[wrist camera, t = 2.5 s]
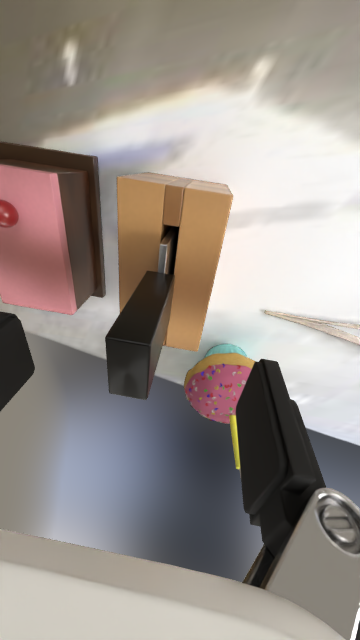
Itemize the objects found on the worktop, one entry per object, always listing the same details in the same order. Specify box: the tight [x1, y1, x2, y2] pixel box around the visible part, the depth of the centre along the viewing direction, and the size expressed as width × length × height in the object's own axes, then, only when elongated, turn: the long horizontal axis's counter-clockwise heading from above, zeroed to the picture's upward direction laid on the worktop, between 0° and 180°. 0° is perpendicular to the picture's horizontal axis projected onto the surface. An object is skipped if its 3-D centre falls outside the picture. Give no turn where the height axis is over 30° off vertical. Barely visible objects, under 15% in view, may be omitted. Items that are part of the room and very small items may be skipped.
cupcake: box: [184, 344, 256, 476], centre depth 23 cm, size 9×8×12 cm
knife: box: [105, 226, 180, 400], centre depth 14 cm, size 6×2×14 cm, turn 173°
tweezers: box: [264, 310, 360, 345], centre depth 23 cm, size 17×5×2 cm, turn 81°
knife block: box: [117, 172, 233, 352], centre depth 18 cm, size 11×6×7 cm, turn 173°
